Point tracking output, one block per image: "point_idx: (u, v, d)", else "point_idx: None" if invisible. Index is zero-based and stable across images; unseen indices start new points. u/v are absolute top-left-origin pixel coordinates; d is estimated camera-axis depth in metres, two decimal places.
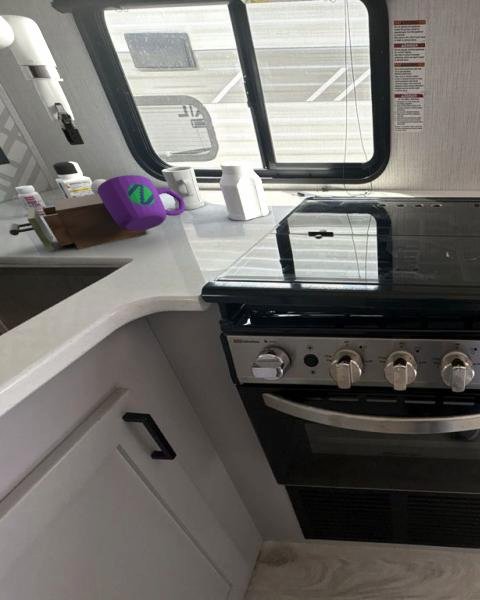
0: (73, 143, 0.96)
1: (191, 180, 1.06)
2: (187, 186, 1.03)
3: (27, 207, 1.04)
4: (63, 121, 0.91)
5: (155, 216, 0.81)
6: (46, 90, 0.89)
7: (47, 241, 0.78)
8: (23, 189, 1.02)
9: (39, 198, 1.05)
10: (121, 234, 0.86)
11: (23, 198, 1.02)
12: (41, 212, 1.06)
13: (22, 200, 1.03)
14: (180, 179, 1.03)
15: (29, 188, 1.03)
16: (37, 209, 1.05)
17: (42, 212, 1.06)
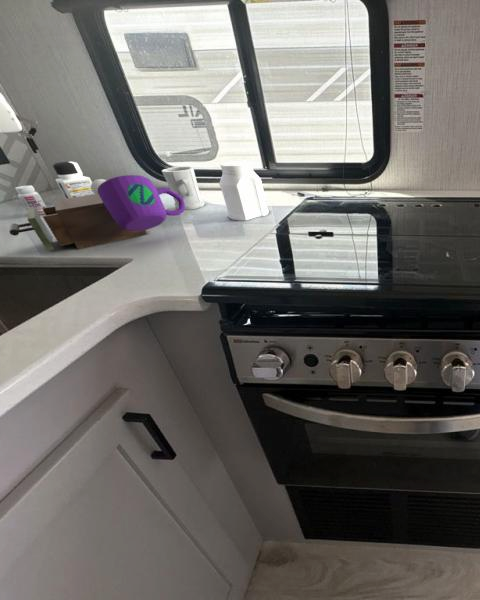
0: None
1: (191, 180, 1.06)
2: (187, 186, 1.03)
3: (27, 207, 1.04)
4: None
5: (155, 216, 0.81)
6: None
7: (47, 241, 0.78)
8: (23, 189, 1.02)
9: (39, 198, 1.05)
10: (121, 234, 0.86)
11: (23, 198, 1.02)
12: (41, 212, 1.06)
13: (22, 200, 1.03)
14: (180, 179, 1.03)
15: (29, 188, 1.03)
16: (37, 209, 1.05)
17: (42, 212, 1.06)
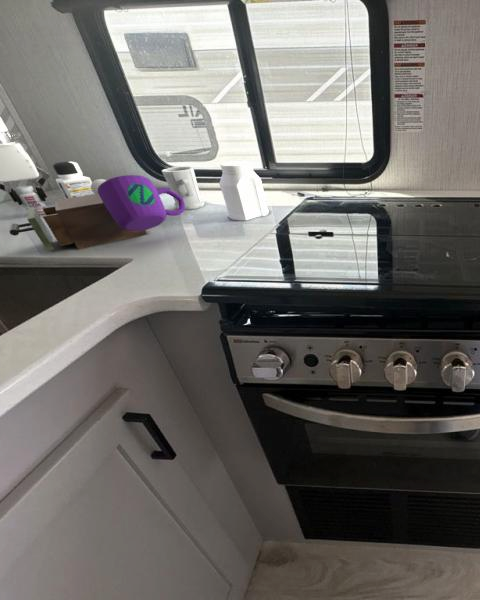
0: None
1: (191, 180, 1.06)
2: (187, 186, 1.03)
3: (27, 207, 1.04)
4: None
5: (155, 216, 0.81)
6: None
7: (47, 241, 0.78)
8: (23, 189, 1.02)
9: (39, 198, 1.05)
10: (121, 234, 0.86)
11: (23, 198, 1.02)
12: (41, 212, 1.06)
13: (22, 200, 1.03)
14: (180, 179, 1.03)
15: (29, 188, 1.03)
16: (37, 209, 1.05)
17: (42, 212, 1.06)
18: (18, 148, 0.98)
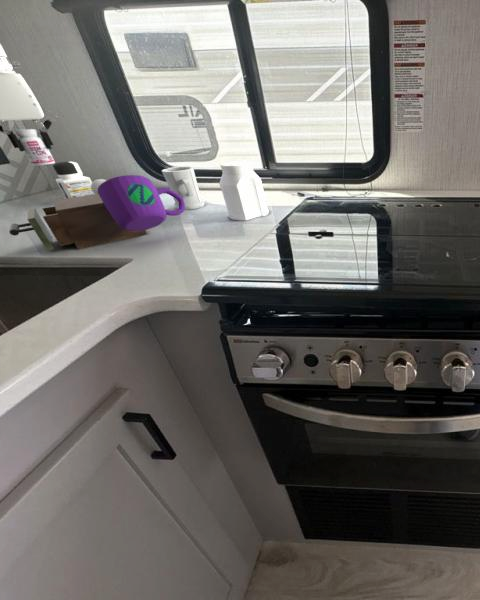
0: None
1: (191, 180, 1.06)
2: (187, 186, 1.03)
3: (30, 155, 0.87)
4: None
5: (155, 216, 0.81)
6: None
7: (47, 241, 0.78)
8: (25, 131, 0.84)
9: (44, 145, 0.88)
10: (121, 234, 0.86)
11: (25, 142, 0.85)
12: (46, 162, 0.89)
13: (24, 145, 0.85)
14: (180, 179, 1.03)
15: (32, 131, 0.85)
16: (42, 158, 0.88)
17: (48, 162, 0.89)
18: (19, 79, 0.81)
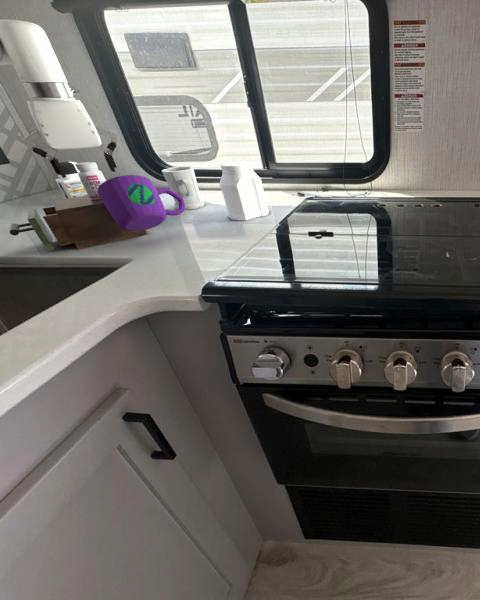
0: None
1: (191, 180, 1.06)
2: (187, 186, 1.03)
3: (89, 189, 0.82)
4: None
5: (155, 216, 0.81)
6: (30, 112, 0.73)
7: (47, 241, 0.78)
8: (85, 166, 0.80)
9: (103, 178, 0.83)
10: (121, 234, 0.86)
11: (85, 177, 0.80)
12: None
13: (83, 180, 0.81)
14: (180, 179, 1.03)
15: (92, 165, 0.81)
16: None
17: None
18: (79, 106, 0.75)
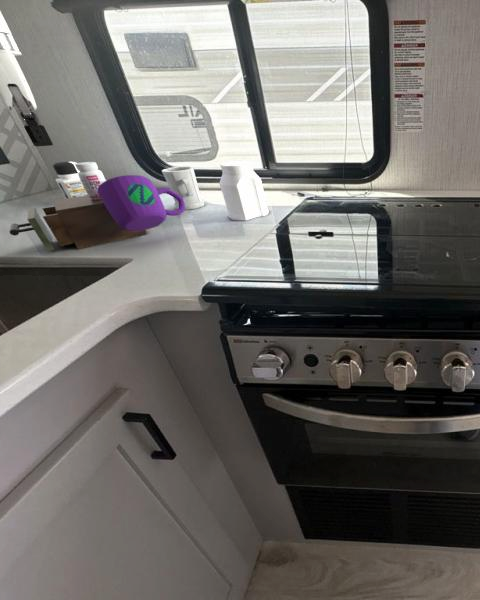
0: (38, 144, 0.74)
1: (191, 180, 1.06)
2: (187, 186, 1.03)
3: (89, 189, 0.82)
4: (23, 115, 0.70)
5: (155, 216, 0.81)
6: None
7: (47, 241, 0.78)
8: (85, 166, 0.80)
9: (103, 178, 0.83)
10: (121, 234, 0.86)
11: (85, 177, 0.80)
12: None
13: (83, 180, 0.81)
14: (180, 179, 1.03)
15: (92, 165, 0.81)
16: None
17: None
18: None
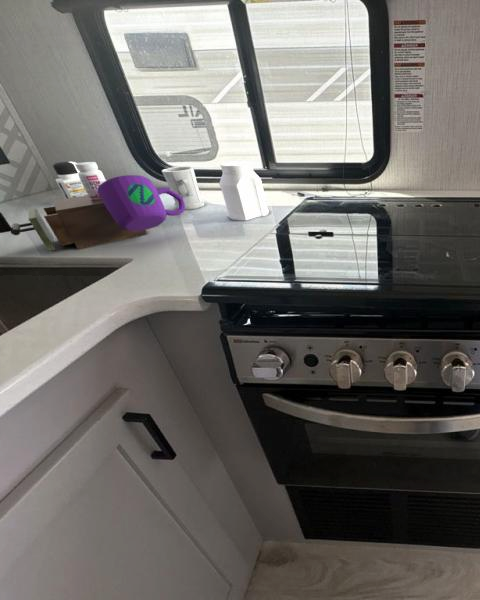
0: None
1: (191, 180, 1.06)
2: (187, 186, 1.03)
3: (89, 189, 0.82)
4: None
5: (155, 216, 0.81)
6: None
7: (48, 241, 0.78)
8: (85, 166, 0.80)
9: (103, 178, 0.83)
10: (121, 234, 0.86)
11: (85, 177, 0.80)
12: None
13: (83, 180, 0.81)
14: (180, 179, 1.03)
15: (92, 165, 0.81)
16: None
17: None
18: None
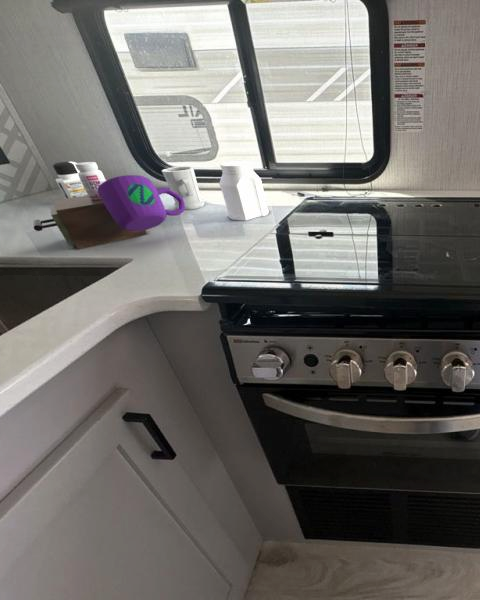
0: None
1: (191, 180, 1.06)
2: (187, 186, 1.03)
3: (89, 189, 0.82)
4: None
5: (155, 216, 0.81)
6: None
7: (69, 237, 0.80)
8: (85, 166, 0.80)
9: (103, 178, 0.83)
10: (121, 234, 0.86)
11: (85, 177, 0.80)
12: None
13: (83, 180, 0.81)
14: (180, 179, 1.03)
15: (92, 165, 0.81)
16: None
17: None
18: None
